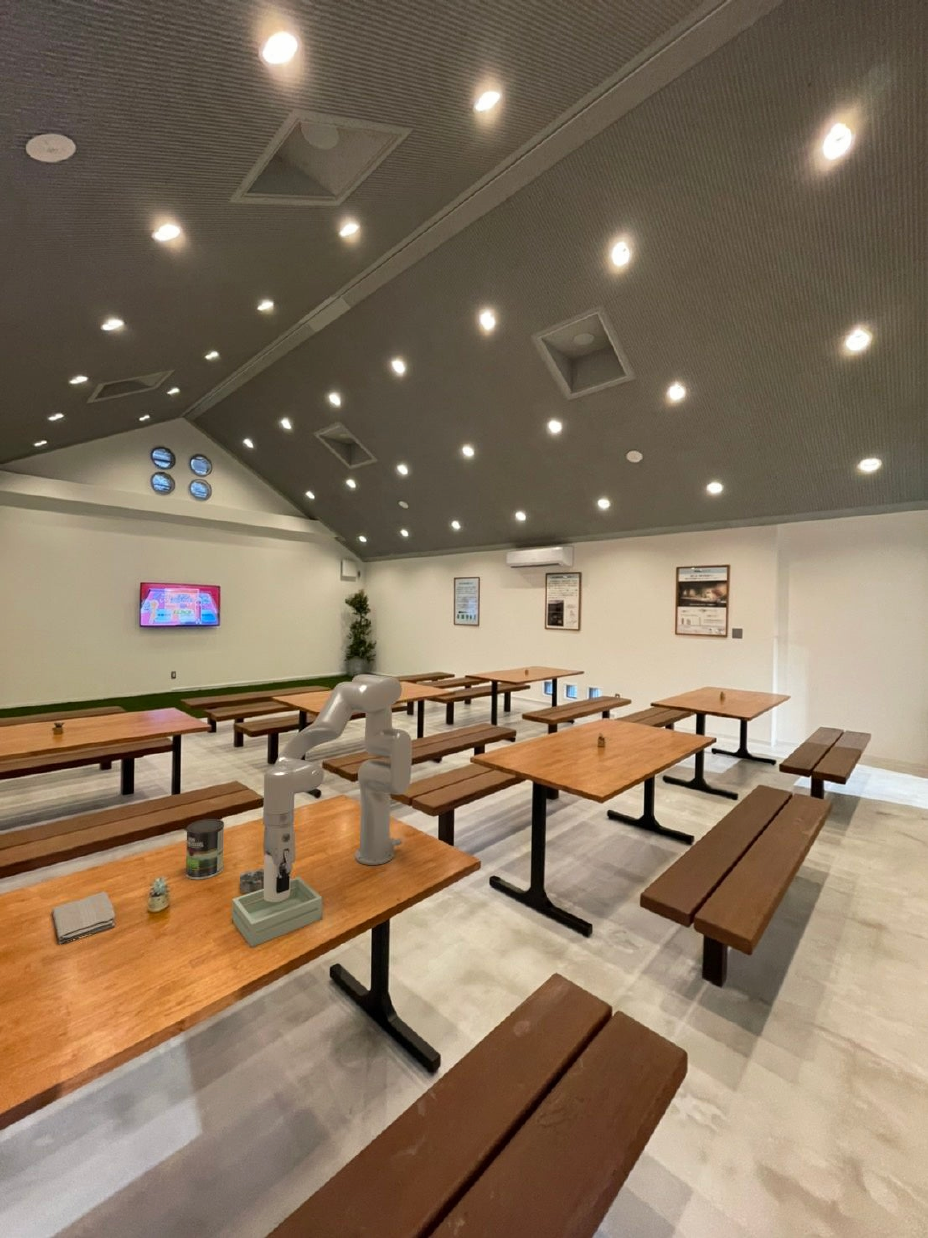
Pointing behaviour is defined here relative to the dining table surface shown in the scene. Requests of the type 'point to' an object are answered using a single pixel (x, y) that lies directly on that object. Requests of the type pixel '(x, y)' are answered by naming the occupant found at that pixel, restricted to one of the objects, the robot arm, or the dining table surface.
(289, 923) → the tray
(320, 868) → the dining table surface
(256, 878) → the egg carton
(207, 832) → the coffee can
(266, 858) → the can
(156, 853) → the dining table surface
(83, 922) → the washcloth
